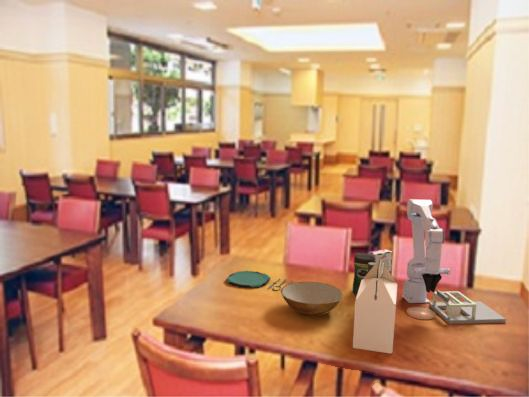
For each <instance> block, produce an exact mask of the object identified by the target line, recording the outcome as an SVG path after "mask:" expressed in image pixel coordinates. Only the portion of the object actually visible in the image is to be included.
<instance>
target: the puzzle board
mask: <svg viewBox="0 0 529 397" xmlns="http://www.w3.org/2000/svg"><path fill="white" fill-rule="evenodd" d="M461 302H462V303H463V304H469V303H468V302H467V301H461ZM473 302H474V303H475V304H477V305H476V315H475V317H472V307H461V311H460V314H463V315H462V316H461V315H460V316H452V317H451V318H448V317H447V315H448V314H447V313H446V312H444V311H443V310H446V304H445V303H444V302H442V301H439V302H437V301H436V305H433V301H432V302H431V301H430V303H429V304H428V307H430V309H431V310H432V311H434V312H435V314H436V315H439V316H440V317H441V318H442V319H443V320H444V321H445V322H446V323H448V325H463V324H464V325H466V324H468V325H469V324H470V325H471V324H473V325H474V324H499V323H501V324H502V323H503V324H504V323H506V320H507V319H506V318H505V317H504V316H502V315H501V314H499V313H498V312H497V311H495V310H494V309H492V308H491V307H490V306H488V305H487V304H485V303H484V302H482V301H478V300H477V301H476V300H475V301H473Z"/></svg>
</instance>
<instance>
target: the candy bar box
mask: <svg viewBox="0 0 529 397" xmlns="http://www.w3.org/2000/svg"><path fill="white" fill-rule="evenodd" d="M367 254H372V255H375V260H376V263H377V264H378V263H379V259H380V257H381V264H383V263H384V261H385V260H386V261H385V266H386V267H387V269H388V270H389V272H390V274H391V275H392V266H393V250H389V249H388V248H387V249H386V248H385V249H378V250H372V251H368V252H367Z"/></svg>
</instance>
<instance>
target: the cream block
mask: <svg viewBox="0 0 529 397" xmlns="http://www.w3.org/2000/svg"><path fill="white" fill-rule="evenodd" d="M449 303H451V304H457V303H456V302H455V301H453V300H452V299H449ZM460 311H461V307H452V313H451V317H455V316H461V312H460ZM445 314H447V315H448V306H447V305H446V309H445Z"/></svg>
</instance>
